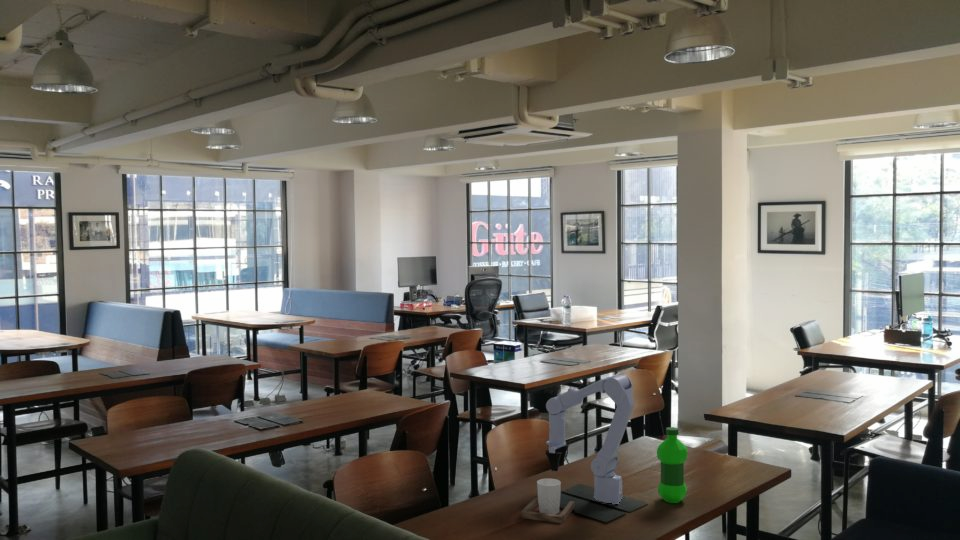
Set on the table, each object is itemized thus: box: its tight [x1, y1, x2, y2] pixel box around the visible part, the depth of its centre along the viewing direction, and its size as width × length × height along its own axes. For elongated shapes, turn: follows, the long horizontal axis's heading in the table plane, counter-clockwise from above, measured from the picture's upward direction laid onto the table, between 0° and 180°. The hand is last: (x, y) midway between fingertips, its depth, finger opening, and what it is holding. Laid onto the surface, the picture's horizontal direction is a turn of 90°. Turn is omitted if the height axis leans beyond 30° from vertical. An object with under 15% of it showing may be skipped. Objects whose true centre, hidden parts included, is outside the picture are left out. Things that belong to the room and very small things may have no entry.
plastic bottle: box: [656, 426, 689, 504], centre depth 267 cm, size 10×10×25 cm
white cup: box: [536, 478, 562, 515], centre depth 258 cm, size 8×8×10 cm
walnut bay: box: [521, 496, 576, 524], centre depth 257 cm, size 14×16×2 cm
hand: (557, 467), depth 278 cm, fingers open, 7 cm apart
